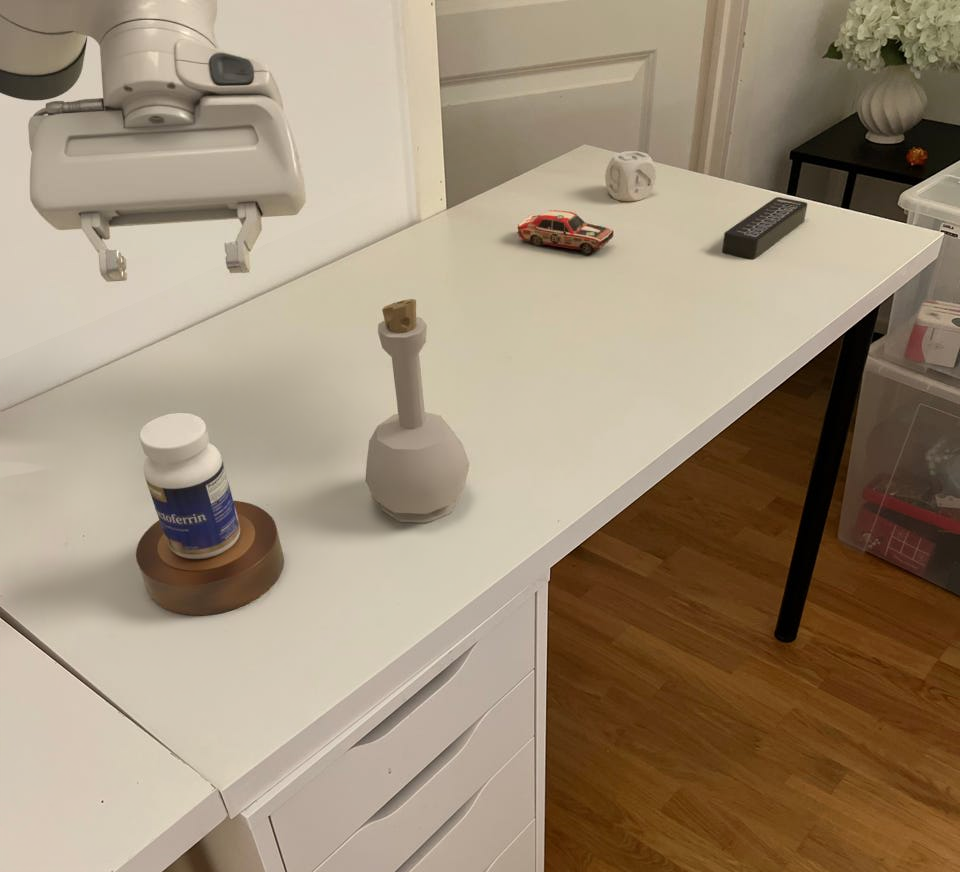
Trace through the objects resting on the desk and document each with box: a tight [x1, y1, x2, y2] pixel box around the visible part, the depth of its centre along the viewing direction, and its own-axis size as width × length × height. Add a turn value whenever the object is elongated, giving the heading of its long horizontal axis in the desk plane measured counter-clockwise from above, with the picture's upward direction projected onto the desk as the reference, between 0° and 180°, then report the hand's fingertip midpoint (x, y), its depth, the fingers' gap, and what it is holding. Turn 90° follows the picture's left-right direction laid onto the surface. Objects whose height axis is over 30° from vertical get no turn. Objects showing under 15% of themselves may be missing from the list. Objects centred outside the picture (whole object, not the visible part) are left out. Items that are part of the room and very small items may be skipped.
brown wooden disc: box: [135, 500, 285, 616], centre depth 77 cm, size 11×11×3 cm
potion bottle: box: [364, 298, 470, 524], centre depth 78 cm, size 9×9×18 cm
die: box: [604, 150, 657, 202], centre depth 132 cm, size 5×5×5 cm
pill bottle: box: [138, 412, 240, 559], centre depth 73 cm, size 6×6×10 cm
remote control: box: [721, 196, 808, 260], centre depth 121 cm, size 4×14×2 cm, turn 142°
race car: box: [517, 209, 614, 257], centre depth 122 cm, size 5×12×5 cm, turn 54°
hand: (176, 274), depth 73 cm, fingers open, 8 cm apart
